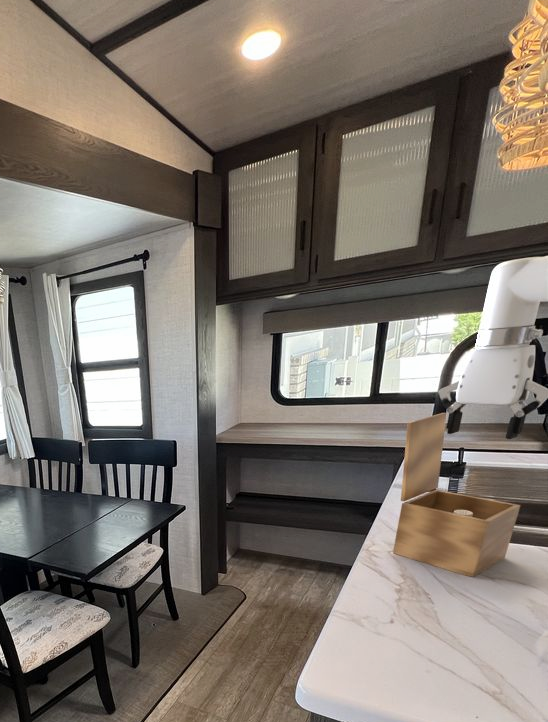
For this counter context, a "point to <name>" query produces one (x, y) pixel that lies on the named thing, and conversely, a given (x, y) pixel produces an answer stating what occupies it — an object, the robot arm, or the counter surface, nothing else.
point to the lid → (423, 455)
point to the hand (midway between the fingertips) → (480, 435)
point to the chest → (455, 531)
